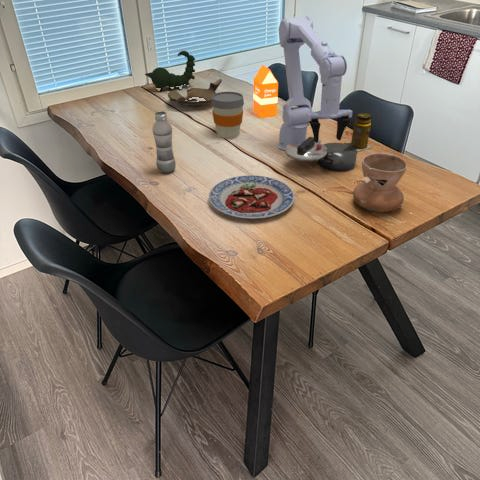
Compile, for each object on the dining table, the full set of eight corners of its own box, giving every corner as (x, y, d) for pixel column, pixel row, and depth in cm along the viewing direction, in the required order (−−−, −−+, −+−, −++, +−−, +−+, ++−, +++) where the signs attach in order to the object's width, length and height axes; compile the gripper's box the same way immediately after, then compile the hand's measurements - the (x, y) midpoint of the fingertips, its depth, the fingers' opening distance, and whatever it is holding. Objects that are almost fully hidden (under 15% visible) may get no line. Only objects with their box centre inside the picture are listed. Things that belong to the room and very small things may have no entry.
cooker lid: (298, 138, 164) (299, 128, 161) (335, 146, 158) (336, 136, 156) (278, 155, 152) (279, 144, 150) (317, 164, 146) (318, 153, 144)
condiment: (372, 147, 171) (377, 116, 164) (355, 152, 167) (360, 120, 160) (358, 140, 176) (362, 110, 169) (341, 145, 172) (346, 114, 165)
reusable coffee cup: (208, 138, 178) (206, 100, 169) (218, 126, 188) (216, 90, 179) (239, 141, 175) (238, 103, 167) (247, 129, 185) (247, 92, 176)
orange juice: (268, 110, 204) (270, 63, 192) (277, 116, 197) (279, 69, 186) (252, 112, 202) (253, 65, 190) (260, 119, 195) (261, 70, 183)
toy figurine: (190, 87, 238) (143, 88, 228) (191, 48, 227) (141, 48, 218) (196, 92, 230) (147, 94, 221) (197, 52, 220) (146, 53, 211)
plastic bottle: (161, 176, 152) (154, 118, 140) (154, 168, 156) (147, 111, 145) (179, 172, 154) (174, 115, 142) (172, 164, 159) (166, 108, 147)
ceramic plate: (290, 228, 127) (291, 219, 125) (200, 219, 130) (199, 211, 129) (297, 184, 147) (297, 176, 146) (219, 178, 151) (219, 170, 149)
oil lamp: (160, 101, 214) (158, 85, 210) (217, 92, 226) (217, 76, 221) (178, 116, 198) (176, 99, 194) (239, 105, 210) (238, 88, 205)
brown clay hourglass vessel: (377, 224, 128) (387, 179, 119) (338, 203, 137) (344, 160, 129) (416, 204, 137) (427, 160, 128) (376, 186, 146) (384, 144, 138)
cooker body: (299, 165, 158) (300, 152, 155) (322, 148, 170) (324, 135, 167) (342, 178, 150) (344, 164, 147) (363, 158, 162) (366, 145, 159)
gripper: (312, 103, 136) (309, 146, 144) (357, 99, 139) (353, 142, 146) (305, 97, 142) (303, 139, 150) (348, 93, 145) (344, 135, 152)
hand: (327, 140), depth 148 cm, fingers open, 7 cm apart
